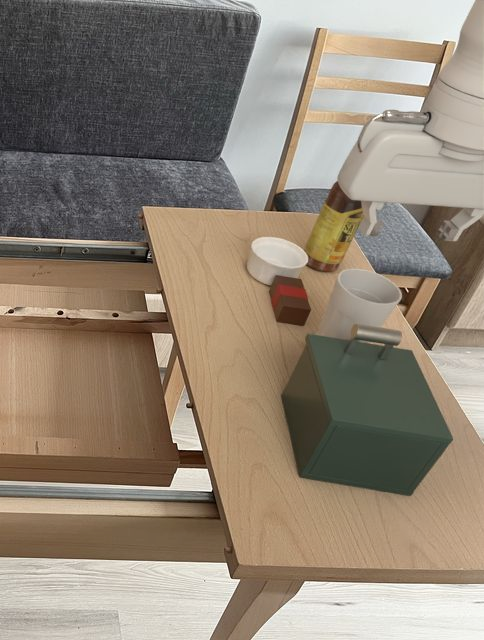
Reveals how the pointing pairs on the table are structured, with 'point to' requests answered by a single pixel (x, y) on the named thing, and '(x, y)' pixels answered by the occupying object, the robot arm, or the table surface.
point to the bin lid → (375, 385)
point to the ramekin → (275, 259)
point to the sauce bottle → (333, 230)
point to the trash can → (350, 443)
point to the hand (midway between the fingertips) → (406, 236)
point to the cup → (358, 303)
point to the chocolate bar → (289, 300)
